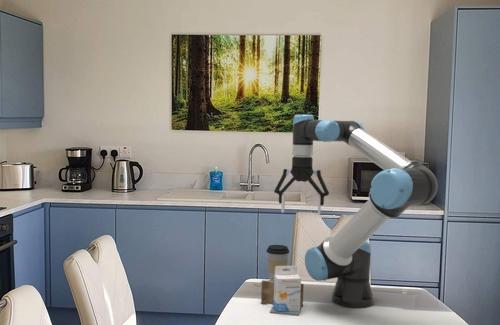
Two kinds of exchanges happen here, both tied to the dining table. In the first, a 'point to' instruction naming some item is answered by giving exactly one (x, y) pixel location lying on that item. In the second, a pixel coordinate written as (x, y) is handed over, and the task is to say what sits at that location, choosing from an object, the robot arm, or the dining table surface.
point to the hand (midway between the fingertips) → (300, 213)
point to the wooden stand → (268, 293)
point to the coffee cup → (277, 258)
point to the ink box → (287, 289)
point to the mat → (286, 312)
